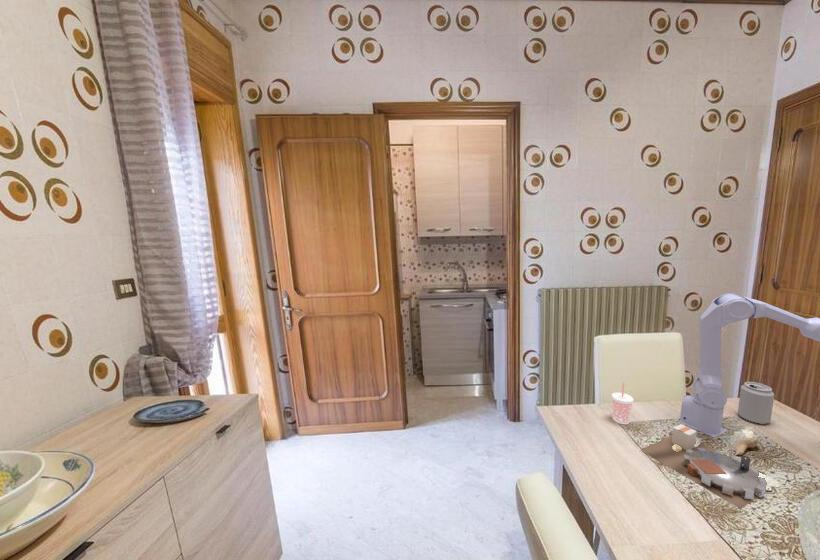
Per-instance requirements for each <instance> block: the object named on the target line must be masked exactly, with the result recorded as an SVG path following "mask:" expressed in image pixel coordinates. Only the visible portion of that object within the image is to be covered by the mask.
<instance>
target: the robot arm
mask: <svg viewBox="0 0 820 560" xmlns="http://www.w3.org/2000/svg"><path fill="white" fill-rule="evenodd" d="M750 317H751V318H753V319H759V318H764V317H765V318H768V319H771V320H774V321H776V322H780V323H782V324H785V325H788V326H790V327H794V328H797V329H798V330H799V333H801V335H802V336H804V337H806V338H809V339H811V340H814V341H817V342H819V343H820V317H810V318H805V317H802V316H800V315H797V314H795V313H792V312H790V311H787V310H785V309H782V308H780V307H777V306H774V305H772V304H769V303H767V302H764V301H760V300H758V299H753V298H751V297H747V296H743V297H742V296H741V295H739V294H737V293H732V292H731V293H730V292H728V293H727V292H726V293H724V294H721V295H720V296H718V297H716V298H714V299H712V301H711V302H710V305H709V306H708V307H707V308H706V310H705V311H704V312H703V313H702V314H701V315H700V317H699V324H698V325H699V327H698V328H699V330H698V331H699V335H698V336H699V337H698V338H699V342H698V343H699V345H698V346H699V350H698V353H699V355H698V356H699V357H698V358H699V359H698V360H699V363H698V364H699V365H698V370H699V371H698V372H697V377H696V379H695V380H694V382H693V388H694V391H695V392H696V393H695V394H694V395H690V394H689V395H686V396H684V398H683V399H682V401H681V406H680V407H681V408H680V418H679V420H678V422H679V423H680V424H682V425H685V426H687V427H690V428H691V429H692V428H693V430H695V431H699V432H701V433H703V434H705V435H707V436H709V437H711V438H716V437H718V436H720V435H722V434H724V433H726V432H728V430H727V429H726V428H723V426H722V424H723V417H724V416H723V415H724V409H725V405H727V403H728V400H727V399H728V398H727V396H726V394H725V393H724V389H723V383H722V379H721V378H722V377H721V374H722V372H721V367H722V366H721V364H722V363H721V362H722V361H721V360H722V358H721V357H722V354H721V353H722V328H723V327H725V326H727V325H729V324H731V323H734V322H736V323H737V322H740V321H744V320H747V319H750Z"/></svg>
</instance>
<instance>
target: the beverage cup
mask: <svg viewBox="0 0 820 560" xmlns="http://www.w3.org/2000/svg"><path fill="white" fill-rule="evenodd" d="M624 391H625V382H622V387H621V392H613V393H611V399H612V420H613V421H614V422H616V423H618V424H620V425H628V424H630V418H631V412H632V406H633V403H634V398H633V397H632V396H631V395H630V394H627V393H625V392H624Z"/></svg>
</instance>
